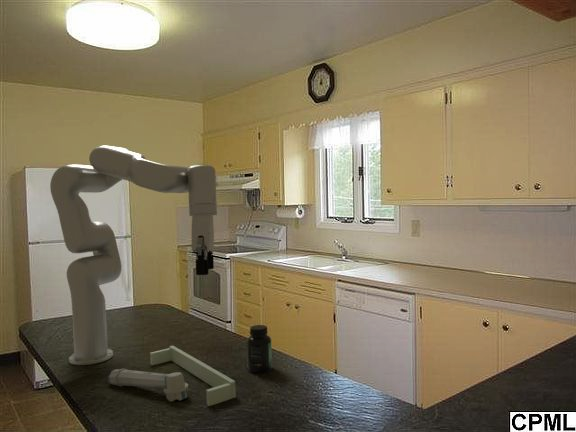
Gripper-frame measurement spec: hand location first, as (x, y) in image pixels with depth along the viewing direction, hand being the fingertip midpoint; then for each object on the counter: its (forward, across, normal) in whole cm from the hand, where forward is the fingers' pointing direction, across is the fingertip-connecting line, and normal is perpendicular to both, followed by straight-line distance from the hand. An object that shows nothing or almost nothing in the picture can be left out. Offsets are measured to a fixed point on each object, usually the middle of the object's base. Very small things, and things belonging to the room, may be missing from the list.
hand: (205, 271), depth 127 cm
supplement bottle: (+28, -1, +14) cm, 32 cm away
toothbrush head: (+29, +12, -14) cm, 34 cm away
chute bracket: (+28, +5, -5) cm, 29 cm away
